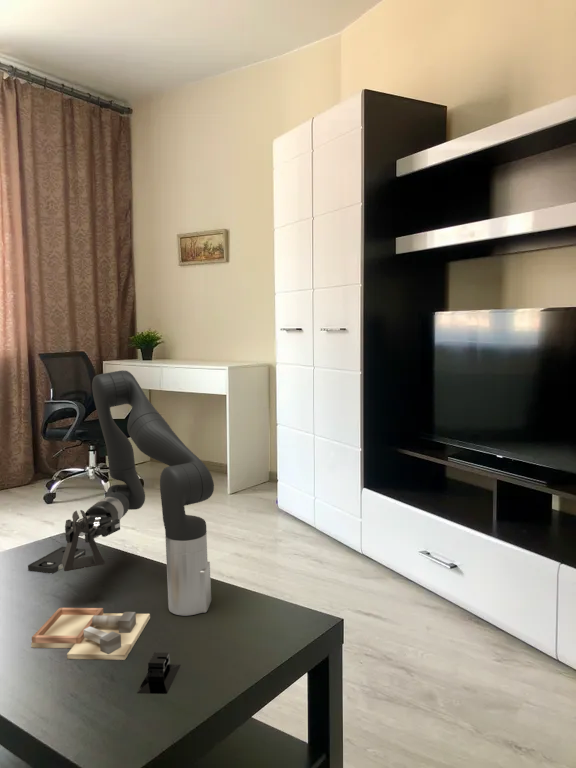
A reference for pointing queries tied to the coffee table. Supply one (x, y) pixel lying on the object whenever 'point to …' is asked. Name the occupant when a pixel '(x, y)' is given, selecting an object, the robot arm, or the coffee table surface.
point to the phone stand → (70, 550)
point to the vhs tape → (53, 561)
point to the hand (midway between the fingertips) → (77, 538)
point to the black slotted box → (159, 675)
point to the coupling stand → (91, 633)
